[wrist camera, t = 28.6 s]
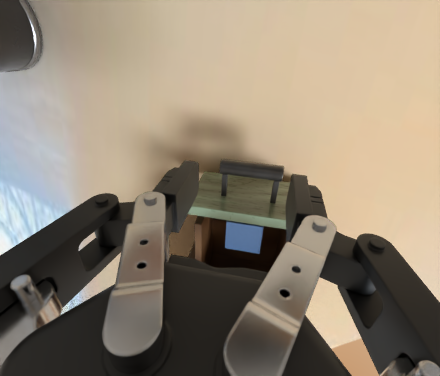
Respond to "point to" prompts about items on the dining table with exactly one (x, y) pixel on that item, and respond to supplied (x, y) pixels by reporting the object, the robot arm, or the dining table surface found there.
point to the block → (243, 236)
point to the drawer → (240, 213)
